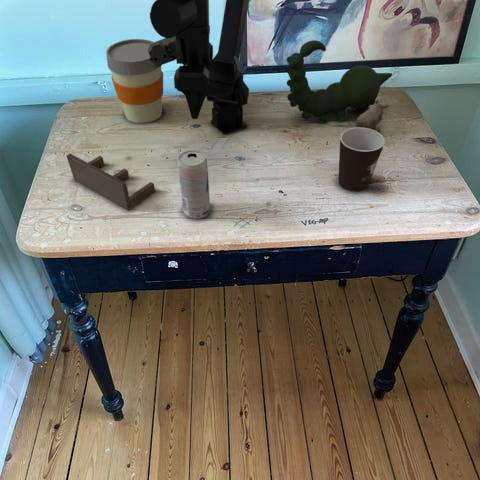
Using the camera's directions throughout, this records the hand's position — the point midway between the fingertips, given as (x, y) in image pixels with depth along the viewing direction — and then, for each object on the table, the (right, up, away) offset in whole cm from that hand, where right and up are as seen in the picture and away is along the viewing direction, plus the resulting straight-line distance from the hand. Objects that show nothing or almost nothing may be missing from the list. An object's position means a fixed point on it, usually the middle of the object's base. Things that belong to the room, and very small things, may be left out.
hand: (196, 109), depth 100 cm
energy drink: (0, -21, -2) cm, 21 cm away
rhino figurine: (+40, +2, +16) cm, 43 cm away
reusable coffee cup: (-15, +8, +22) cm, 28 cm away
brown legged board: (-17, -15, +4) cm, 23 cm away
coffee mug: (+34, -14, +4) cm, 37 cm away
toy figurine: (+32, +7, +21) cm, 39 cm away
